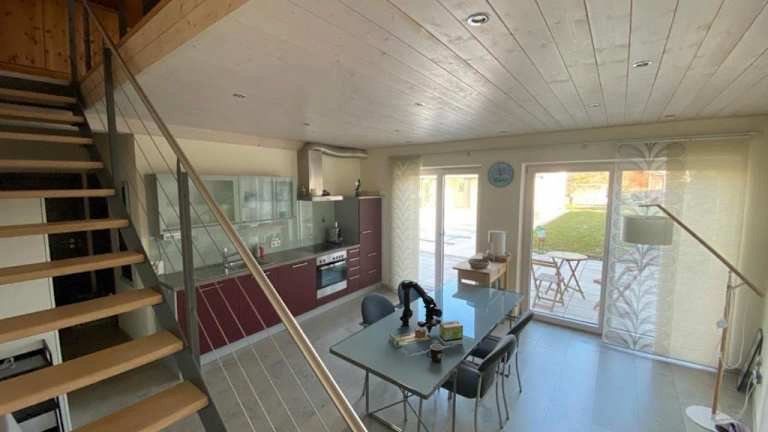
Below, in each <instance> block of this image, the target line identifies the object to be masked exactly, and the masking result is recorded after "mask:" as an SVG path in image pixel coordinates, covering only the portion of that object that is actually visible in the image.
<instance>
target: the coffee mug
mask: <svg viewBox="0 0 768 432" xmlns="http://www.w3.org/2000/svg"><path fill="white" fill-rule="evenodd" d="M429 348H430V349H429V350H428V351H427V352H426V356H427V357H429V359H431V362H432V363H434V364H440V363H442V357H443V356H442V355H443V349H444V346H443V345H442V344H440V343H432V344H431V345H430V346H429ZM429 353H430V355H428V354H429Z"/></svg>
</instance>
